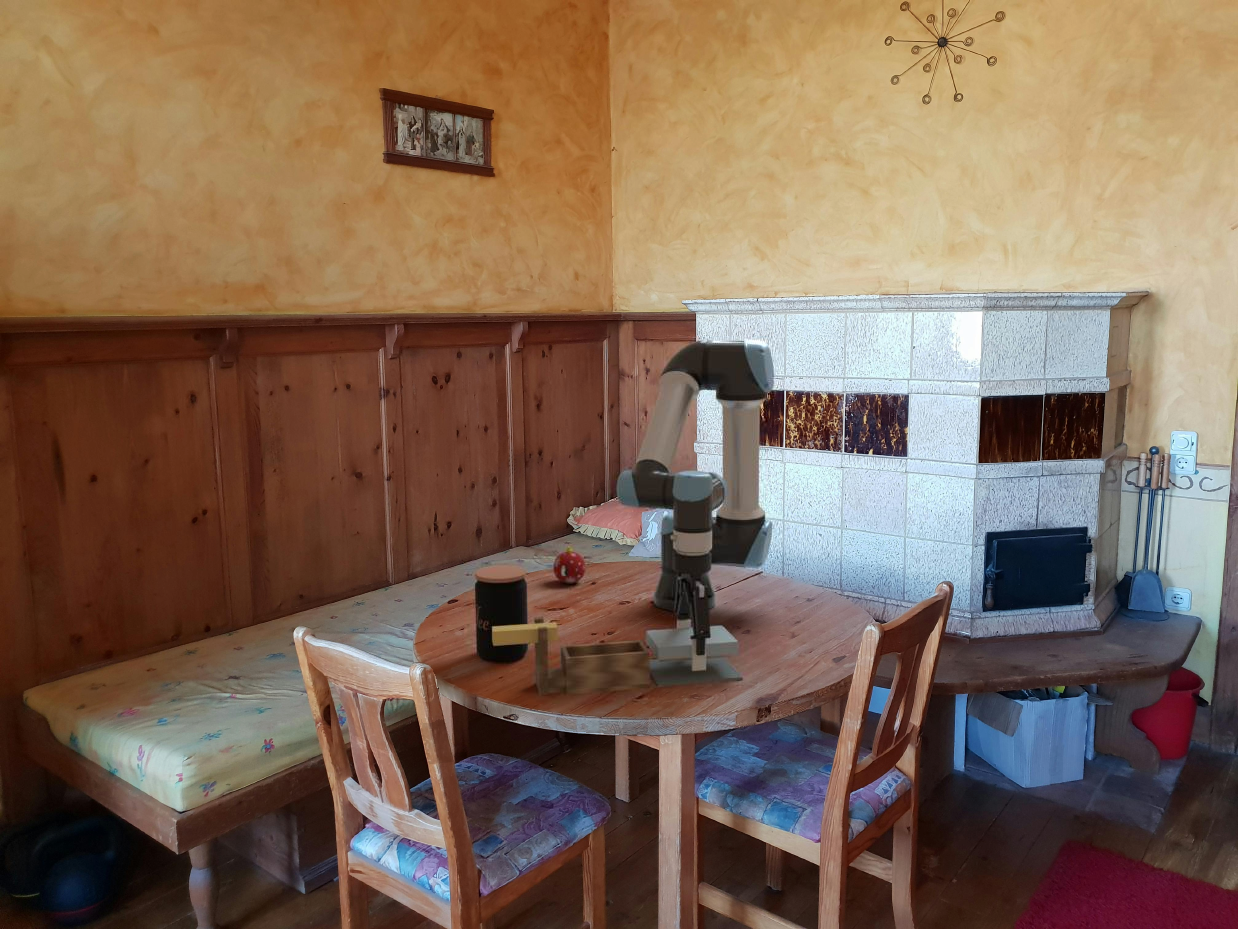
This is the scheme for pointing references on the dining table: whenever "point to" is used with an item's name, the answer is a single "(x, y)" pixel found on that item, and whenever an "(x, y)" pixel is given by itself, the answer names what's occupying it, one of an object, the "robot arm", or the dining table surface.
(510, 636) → the yellow block
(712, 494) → the robot arm
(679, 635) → the lid
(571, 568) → the christmas ornament
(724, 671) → the mat
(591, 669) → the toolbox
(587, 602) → the dining table surface
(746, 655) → the dining table surface
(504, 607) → the coffee jar
